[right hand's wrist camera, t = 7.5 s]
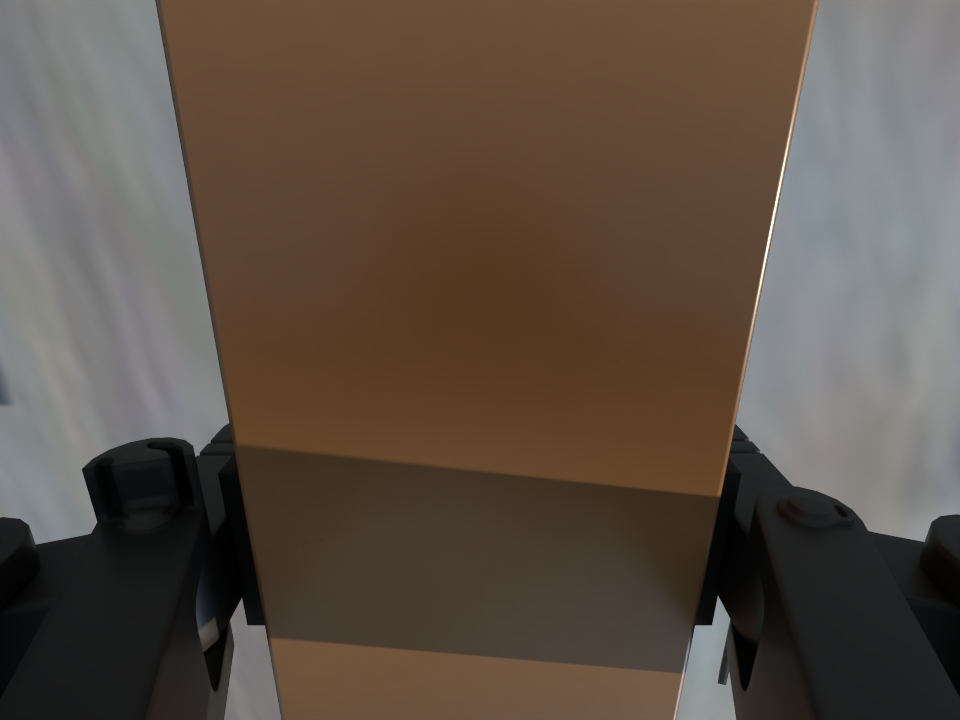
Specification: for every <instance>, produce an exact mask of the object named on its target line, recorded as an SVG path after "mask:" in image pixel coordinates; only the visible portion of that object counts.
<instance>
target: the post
mask: <svg viewBox="0 0 960 720" xmlns="http://www.w3.org/2000/svg"><path fill="white" fill-rule="evenodd" d="M155 1H156V7H157V12H158V18H159V24H160V29H161V35H162V41H163V46H164V52H165V58H166V64H167V69H168V75H169V81H170V86H171V92H172V98H173V103H174V109H175V115H176V121H177V126H178V132H179V138H180V143H181V149H182V155H183V160H184V166H185V172H186V178H187V183H188V189H189V195H190V200H191V206H192V212H193V217H194V223H195V229H196V234H197V240H198V246H199V252H200V257H201V263H202V269H203V274H204V280H205V286H206V291H207V297H208V303H209V309H210V314H211V320H212V326H213V331H214V337H215V343H216V348H217V354H218V360H219V366H220V371H221V377H222V383H223V388H224V394H225V400H226V405H227V411H228V417H229V423H230V428H231V434H232V440H233V445H234V451H235V457H236V462H237V468H238V474H239V480H240V485H241V491H242V497H243V502H244V508H245V514H246V519H247V525H248V531H249V536H250V542H251V548H252V554H253V559H254V565H255V571H256V576H257V582H258V588H259V593H260V599H261V605H262V611H263V616H264V622H265V628H266V633H267V639H268V645H269V650H270V656H271V662H272V668H273V673H274V679H275V685H276V690H277V696H278V702H279V707H280V713H281V719H282V720H676V718H677V713H678V708H679V703H680V698H681V693H682V688H683V683H684V678H685V673H686V668H687V663H688V658H689V653H690V648H691V643H692V638H693V633H694V628H695V623H696V618H697V613H698V608H699V602H700V597H701V592H702V587H703V582H704V577H705V572H706V567H707V562H708V557H709V552H710V547H711V542H712V537H713V532H714V527H715V522H716V517H717V512H718V507H719V502H720V497H721V492H722V487H723V482H724V477H725V472H726V467H727V462H728V457H729V452H730V447H731V442H732V437H733V431H734V426H735V421H736V416H737V411H738V406H739V401H740V396H741V391H742V386H743V381H744V376H745V371H746V366H747V361H748V356H749V351H750V346H751V341H752V336H753V331H754V326H755V321H756V316H757V311H758V306H759V301H760V296H761V291H762V286H763V281H764V276H765V271H766V266H767V260H768V255H769V250H770V245H771V240H772V235H773V230H774V225H775V220H776V215H777V210H778V205H779V200H780V195H781V190H782V185H783V180H784V175H785V170H786V165H787V160H788V155H789V150H790V145H791V140H792V135H793V130H794V125H795V120H796V115H797V110H798V105H799V100H800V95H801V89H802V84H803V79H804V74H805V69H806V64H807V59H808V54H809V49H810V44H811V39H812V34H813V29H814V24H815V19H816V14H817V9H818V4H819V0H155Z"/></svg>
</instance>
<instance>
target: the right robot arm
mask: <svg viewBox="0 0 960 720" xmlns="http://www.w3.org/2000/svg"><path fill="white" fill-rule="evenodd" d="M82 471H83V475H84V478H85V482H86V485H87V488H88V492H89V495H90V498H91V502H92V505H93V508H94V512H95V515H96V519H97V524H96V526H95V528H94V530H93V531H92V533H91V534H88V535H84V536H79V537H74V538H68V539H63V540H58V541H53V542H48V543H42V544H37V545H36V544H35V542H34V539H33V536H32V533H31V530H30V527H29V525H28V524H26V523H25V522H23V521H22V520H21V519H15V518H6V517H2V518H0V720H224V715H225V708H226V701H227V693H228V686H229V679H230V672H231V665H232V658H233V651H234V641H233V633H232V629H231V624H230V619H231V617H232V615H233V613H234V611H235V609H236V608H237V606H238V604H239V602H240V600H241V598H242V599H243V604H244V609H245V614H246V619H247V625H265V622H264V616H263V611H262V605H261V599H260V593H259V588H258V582H257V576H256V571H255V565H254V559H253V554H252V548H251V542H250V536H249V531H248V525H247V519H246V514H245V508H244V502H243V497H242V491H241V485H240V480H239V474H238V468H237V462H236V457H235V451H234V445H233V440H232V434H231V428H230V423H229V424H227V425H226V426H224V427H223V428H222V429H221V430H220V431H219V432H218V433H217V434H216V436H215V437H214V438H213V439H212V440H211V444H207V445H206V446H205V448H204V449H203V450H202V451H201V452H200V456H196V457H195V453H194V448H193V446H192V445H191V444H190V443H188V442H187V441H185V440H182V439H176V438H171V437H168V438H150V439H145V440H140V441H135V442H130V443H127V444H124V445H122V446H119V447H116V448H113V449H110V450H108V451H106V452H105V453H103V454H101V455H99V456H97V457H95V458H94V459H92V460H91V461H90V462H89V463H88V464H87V465H86V466H85V467H84V468H83V469H82ZM718 596H719V598H720V600H721V602H722V604H723V605H724V607H725V609H726V611H727V613H728V615H729V617H730V624H729V629H728V633H727V638H726V643H725V648H724V652H723V657H722V662H721V667H720V672H719V679H718V683H719V684H724V685H726V682H727V678H728V673H729V672H730V678H731V685H732V692H733V699H734V706H735V713H736V720H960V515H947V516H940V517H939V518H937V519H936V520H934V521H933V522H932V523H931V526H930V528H929V531H928V534H927V537H926V540H925V542H921V541H916V540H911V539H905V538H900V537H895V536H889V535H884V534H879V533H874V532H870V531H868V530H867V528H866V527H865V525H864V523H863V521H862V520H861V519H860V518H859V517H858V516H857V514H856V513H855V512H854V511H853V510H852V509H850V508H849V507H847V506H846V505H844V504H843V503H841V502H840V501H838V500H837V499H834V498H832V497H829V496H827V495H825V494H822V493H820V492H817V491H813V490H809V489H805V488H801V487H794V486H792V485H791V484H790V482H789V481H788V480H787V479H786V478H785V477H784V476H783V475H782V474H781V473H780V472H779V471H778V469H777V468H776V467H775V466H774V465H773V464H772V463H771V462H770V461H769V460H768V459H767V458H766V456H765V455H764V454H760V450H759V449H758V448H757V447H756V446H755V445H754V443H753V442H749V438H748V437H747V436H746V435H745V434H744V433H743V432H742V430H741V429H740V428H739V427H738V426H737V425H736V424H735V426H734V431H733V437H732V442H731V447H730V452H729V457H728V462H727V467H726V472H725V477H724V482H723V487H722V492H721V497H720V502H719V507H718V512H717V517H716V522H715V527H714V532H713V537H712V542H711V547H710V552H709V557H708V562H707V567H706V572H705V577H704V582H703V587H702V592H701V597H700V602H699V608H698V613H697V618H696V623H695V625H712V622H713V617H714V612H715V607H716V602H717V597H718Z"/></svg>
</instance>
